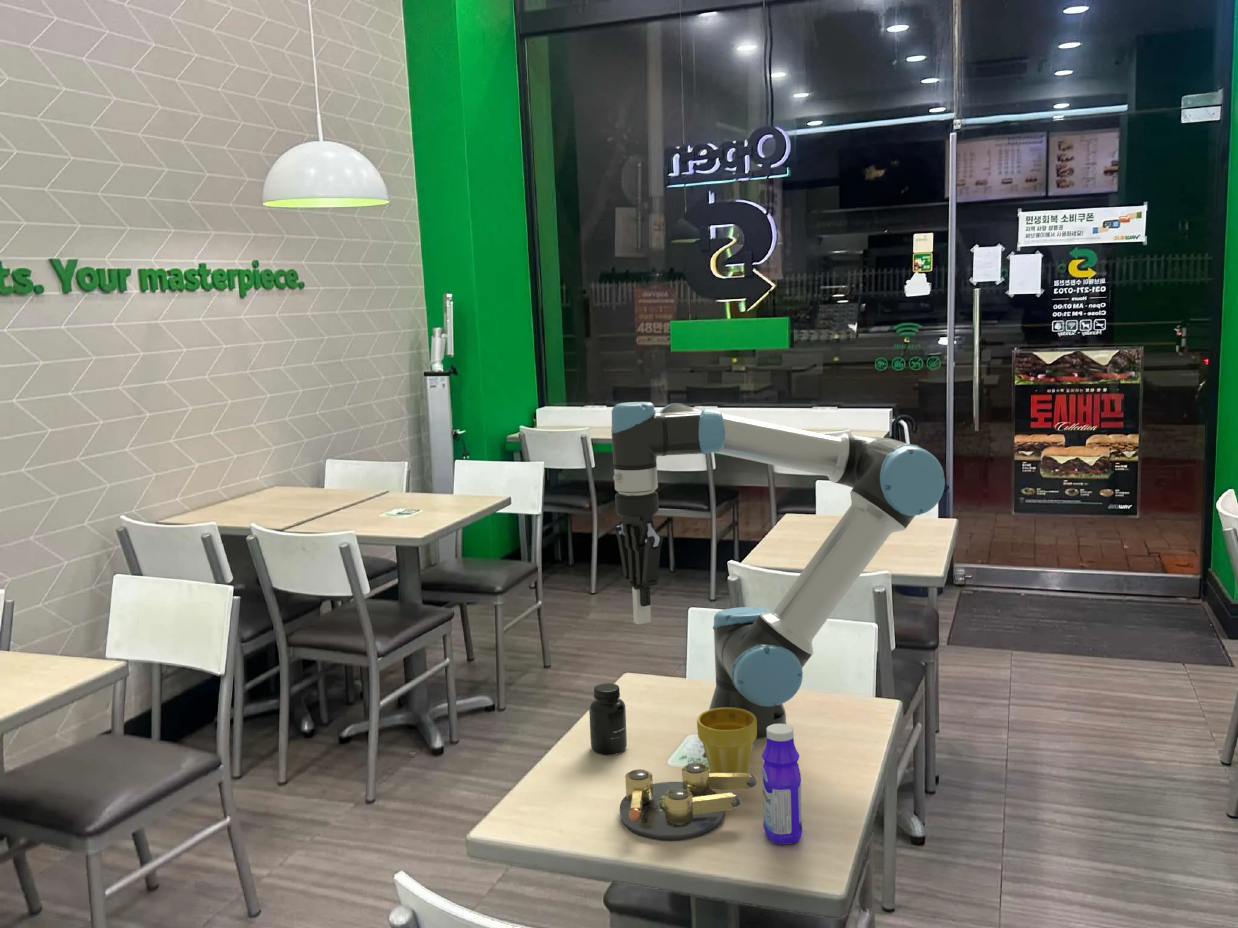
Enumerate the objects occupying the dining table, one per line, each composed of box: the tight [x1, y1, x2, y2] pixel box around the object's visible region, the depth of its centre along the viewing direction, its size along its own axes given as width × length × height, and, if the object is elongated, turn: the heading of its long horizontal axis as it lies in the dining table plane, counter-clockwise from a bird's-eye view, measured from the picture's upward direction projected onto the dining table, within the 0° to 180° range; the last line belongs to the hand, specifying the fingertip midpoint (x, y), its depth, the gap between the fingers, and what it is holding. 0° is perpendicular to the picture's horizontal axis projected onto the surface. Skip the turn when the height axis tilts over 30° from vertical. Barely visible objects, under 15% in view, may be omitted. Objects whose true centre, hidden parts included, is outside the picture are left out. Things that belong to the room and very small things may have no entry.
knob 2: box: [664, 788, 742, 824], centre depth 162 cm, size 12×4×4 cm, turn 99°
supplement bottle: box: [588, 682, 628, 756], centre depth 193 cm, size 7×7×12 cm
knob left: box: [681, 762, 758, 796], centre depth 170 cm, size 12×4×4 cm, turn 84°
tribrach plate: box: [619, 781, 726, 842], centre depth 167 cm, size 17×17×3 cm
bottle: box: [761, 723, 803, 845], centre depth 158 cm, size 7×6×17 cm
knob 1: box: [624, 768, 654, 822], centre depth 165 cm, size 12×4×4 cm, turn 175°
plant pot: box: [696, 707, 757, 773], centre depth 181 cm, size 10×10×10 cm
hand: (642, 621), depth 183 cm, fingers closed
